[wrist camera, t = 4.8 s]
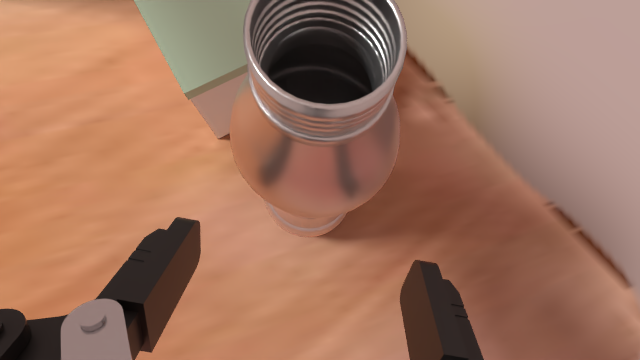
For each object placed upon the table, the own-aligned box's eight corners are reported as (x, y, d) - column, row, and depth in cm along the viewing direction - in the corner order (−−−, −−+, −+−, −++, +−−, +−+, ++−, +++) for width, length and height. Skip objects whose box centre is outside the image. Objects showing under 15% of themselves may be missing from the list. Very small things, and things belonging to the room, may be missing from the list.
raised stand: (156, 28, 29) (104, -55, 21) (281, -25, 31) (274, -118, 23) (217, 140, 27) (184, 93, 19) (346, 75, 29) (363, 9, 21)
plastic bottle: (336, 151, 27) (422, -107, 8) (355, 229, 26) (518, 148, 7) (260, 166, 27) (153, -77, 7) (276, 247, 25) (194, 217, 6)
